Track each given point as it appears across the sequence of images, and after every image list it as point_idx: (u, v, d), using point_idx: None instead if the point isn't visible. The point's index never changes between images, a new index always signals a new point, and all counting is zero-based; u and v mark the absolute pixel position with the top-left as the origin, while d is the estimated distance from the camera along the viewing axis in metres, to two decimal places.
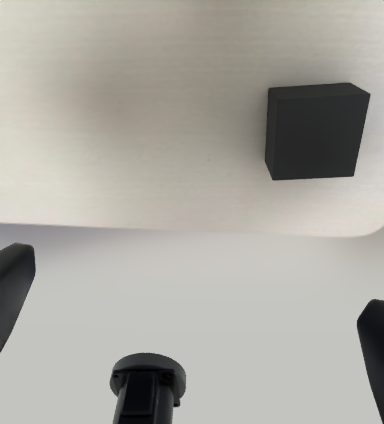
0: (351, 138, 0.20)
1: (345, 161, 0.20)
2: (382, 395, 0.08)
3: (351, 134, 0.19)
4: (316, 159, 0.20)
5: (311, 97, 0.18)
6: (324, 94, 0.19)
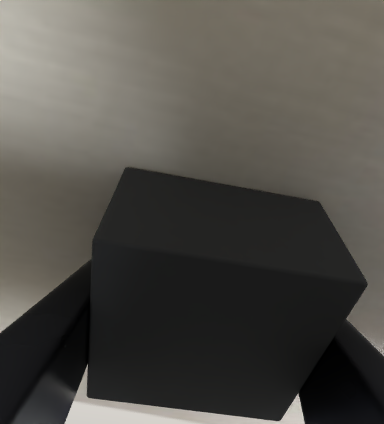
0: (291, 361, 0.07)
1: (266, 396, 0.08)
2: (303, 385, 0.08)
3: (292, 353, 0.07)
4: (198, 383, 0.08)
5: (200, 254, 0.06)
6: (241, 247, 0.06)
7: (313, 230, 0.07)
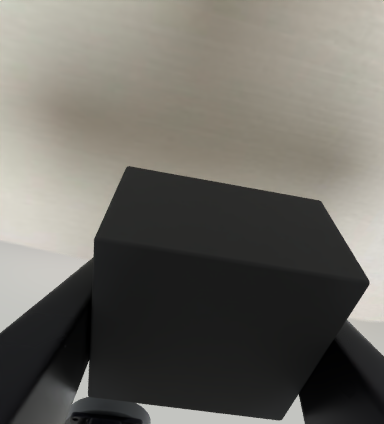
0: (293, 360, 0.07)
1: (268, 396, 0.08)
2: None
3: (294, 353, 0.07)
4: (199, 382, 0.08)
5: (201, 252, 0.06)
6: (243, 246, 0.06)
7: (315, 229, 0.07)
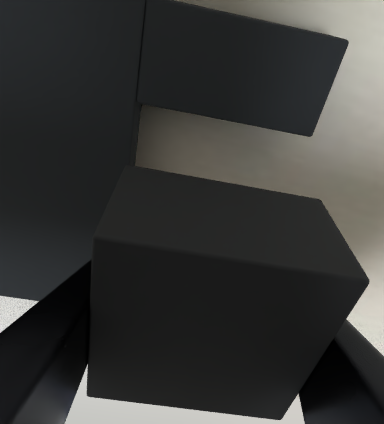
0: (292, 359, 0.07)
1: (267, 396, 0.08)
2: (303, 385, 0.08)
3: (293, 352, 0.07)
4: (199, 382, 0.08)
5: (200, 251, 0.06)
6: (242, 245, 0.06)
7: (314, 228, 0.07)
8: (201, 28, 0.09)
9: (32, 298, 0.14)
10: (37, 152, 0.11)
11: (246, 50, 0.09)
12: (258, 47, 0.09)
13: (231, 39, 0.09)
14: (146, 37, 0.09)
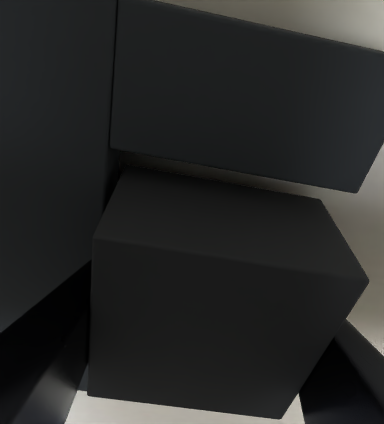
0: (292, 359, 0.07)
1: (267, 395, 0.08)
2: (303, 385, 0.08)
3: (293, 351, 0.07)
4: (198, 381, 0.08)
5: (201, 251, 0.06)
6: (242, 244, 0.06)
7: (314, 227, 0.07)
8: (202, 44, 0.06)
9: None
10: None
11: (269, 76, 0.06)
12: (287, 72, 0.06)
13: (247, 61, 0.06)
14: (120, 58, 0.06)
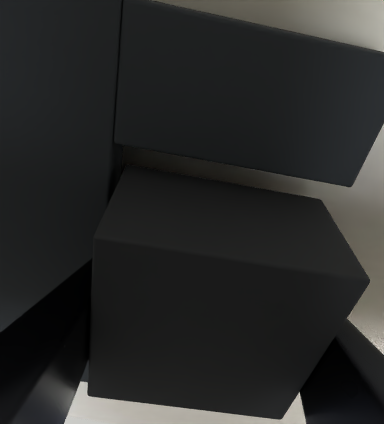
0: (293, 359, 0.07)
1: (268, 395, 0.08)
2: (304, 385, 0.08)
3: (293, 351, 0.07)
4: (199, 381, 0.08)
5: (201, 251, 0.06)
6: (243, 244, 0.06)
7: (315, 227, 0.07)
8: (202, 44, 0.06)
9: None
10: None
11: (266, 74, 0.06)
12: (283, 70, 0.06)
13: (245, 59, 0.06)
14: (124, 56, 0.06)
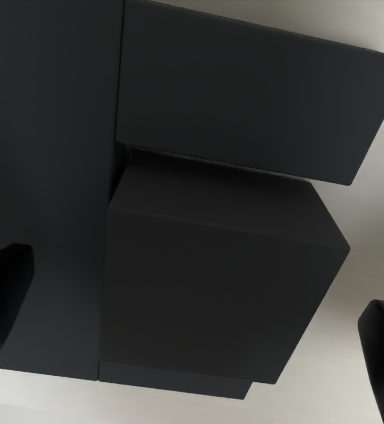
0: (284, 324, 0.08)
1: (262, 359, 0.09)
2: (383, 395, 0.08)
3: (285, 316, 0.08)
4: (200, 345, 0.09)
5: (202, 221, 0.07)
6: (238, 217, 0.07)
7: (304, 205, 0.08)
8: (203, 44, 0.06)
9: None
10: None
11: (266, 74, 0.07)
12: (283, 70, 0.06)
13: (245, 59, 0.06)
14: (125, 56, 0.06)
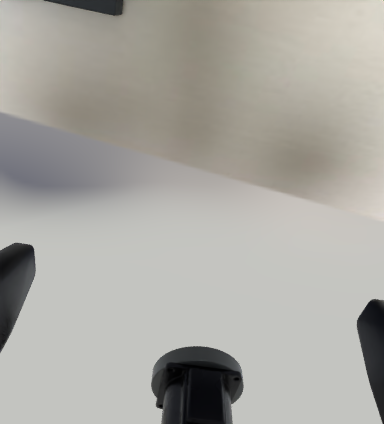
0: None
1: None
2: (382, 395, 0.08)
3: None
4: None
5: None
6: None
7: None
8: None
9: None
10: None
11: None
12: None
13: None
14: None
